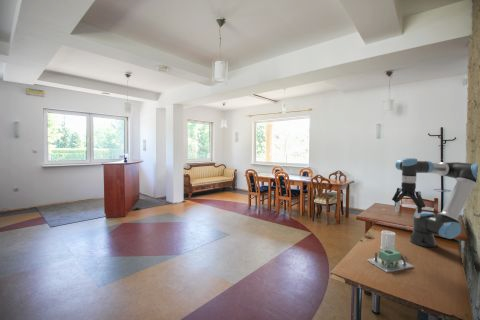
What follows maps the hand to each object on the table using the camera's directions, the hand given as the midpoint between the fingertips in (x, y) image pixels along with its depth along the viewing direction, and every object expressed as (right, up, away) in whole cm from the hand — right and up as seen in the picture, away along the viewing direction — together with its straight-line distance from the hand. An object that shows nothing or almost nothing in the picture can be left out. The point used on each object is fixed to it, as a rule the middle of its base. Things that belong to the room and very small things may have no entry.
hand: (407, 214), depth 152 cm
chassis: (-18, -27, -11) cm, 34 cm away
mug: (-8, -26, +8) cm, 29 cm away
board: (-18, -24, -11) cm, 32 cm away
